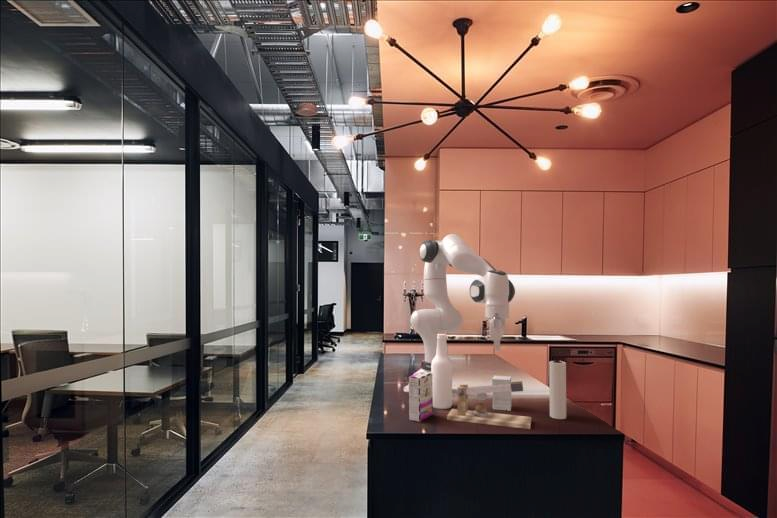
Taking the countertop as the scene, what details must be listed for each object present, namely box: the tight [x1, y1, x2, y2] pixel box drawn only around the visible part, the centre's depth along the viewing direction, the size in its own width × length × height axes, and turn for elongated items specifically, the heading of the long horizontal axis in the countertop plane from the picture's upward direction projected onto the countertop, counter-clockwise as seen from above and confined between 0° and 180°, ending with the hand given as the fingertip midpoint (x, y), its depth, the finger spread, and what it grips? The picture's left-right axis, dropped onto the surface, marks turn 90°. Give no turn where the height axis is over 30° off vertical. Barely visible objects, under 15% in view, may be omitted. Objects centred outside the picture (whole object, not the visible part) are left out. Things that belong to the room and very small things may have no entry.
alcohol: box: [431, 333, 453, 410], centre depth 189 cm, size 9×9×30 cm
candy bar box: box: [408, 372, 434, 423], centre depth 173 cm, size 11×5×16 cm, turn 148°
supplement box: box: [491, 374, 513, 412], centre depth 187 cm, size 7×7×13 cm
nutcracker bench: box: [446, 383, 532, 430], centre depth 170 cm, size 30×10×12 cm, turn 70°
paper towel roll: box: [548, 360, 567, 420], centre depth 175 cm, size 7×6×21 cm
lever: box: [466, 380, 524, 401], centre depth 170 cm, size 24×4×5 cm, turn 71°
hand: (497, 349), depth 170 cm, fingers closed
